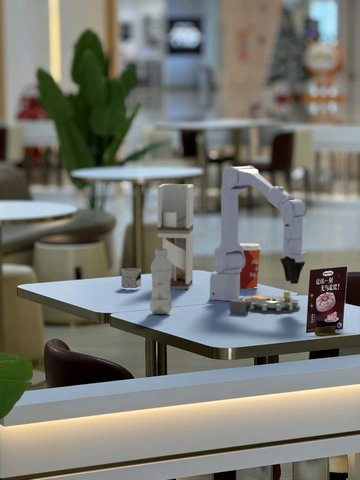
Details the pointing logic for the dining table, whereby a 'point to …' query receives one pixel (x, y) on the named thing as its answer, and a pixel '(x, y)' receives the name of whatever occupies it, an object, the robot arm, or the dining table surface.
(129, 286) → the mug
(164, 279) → the plastic bottle
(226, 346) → the dining table surface
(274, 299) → the sprocket
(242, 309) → the link block
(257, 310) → the sprocket mat
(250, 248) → the coffee cup
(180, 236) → the display case
